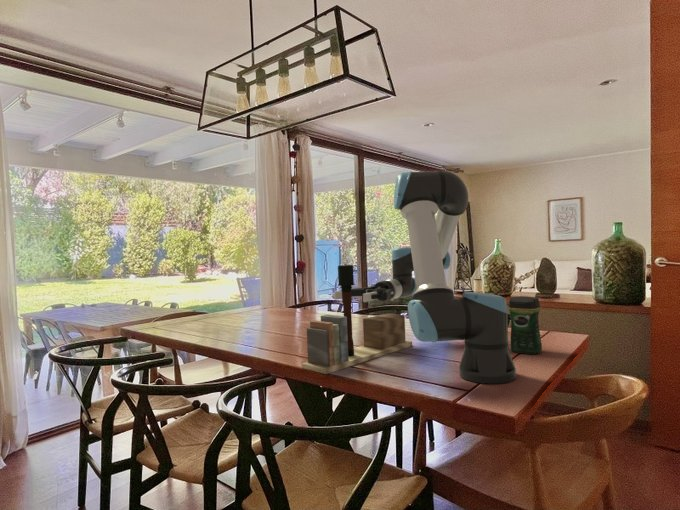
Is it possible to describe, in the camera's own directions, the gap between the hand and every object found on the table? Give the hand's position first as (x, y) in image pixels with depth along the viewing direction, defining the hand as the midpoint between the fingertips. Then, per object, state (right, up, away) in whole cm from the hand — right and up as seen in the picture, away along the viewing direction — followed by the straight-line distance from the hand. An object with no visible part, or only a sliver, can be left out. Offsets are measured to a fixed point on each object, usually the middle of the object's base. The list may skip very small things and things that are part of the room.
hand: (348, 296), depth 150 cm
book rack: (+4, -20, +2) cm, 21 cm away
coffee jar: (+59, -18, -2) cm, 62 cm away
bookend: (+13, -18, +11) cm, 25 cm away
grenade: (0, -19, -3) cm, 20 cm away
